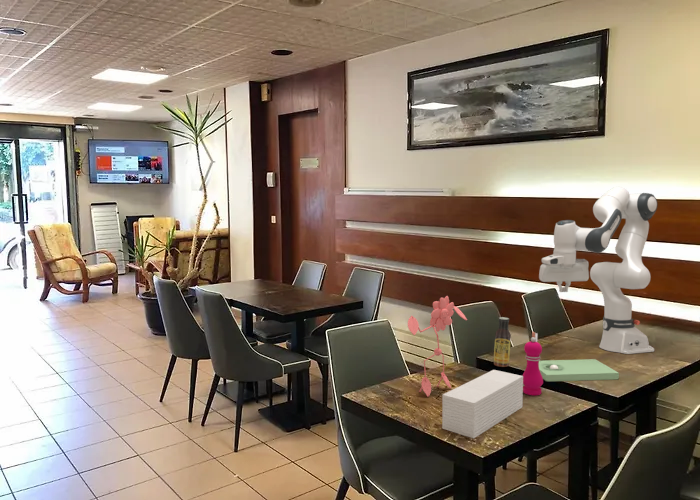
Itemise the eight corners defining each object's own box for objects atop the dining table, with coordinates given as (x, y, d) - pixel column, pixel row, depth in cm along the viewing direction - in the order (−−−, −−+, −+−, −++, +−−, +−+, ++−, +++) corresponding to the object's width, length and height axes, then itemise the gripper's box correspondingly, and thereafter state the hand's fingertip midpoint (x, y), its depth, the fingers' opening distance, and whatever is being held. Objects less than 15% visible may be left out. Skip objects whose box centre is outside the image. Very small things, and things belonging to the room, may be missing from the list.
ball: (553, 363, 223) (546, 366, 222) (558, 363, 219) (551, 366, 218) (556, 372, 222) (549, 375, 221) (562, 372, 219) (554, 374, 218)
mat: (593, 363, 232) (594, 329, 231) (618, 379, 213) (620, 341, 211) (526, 365, 230) (527, 331, 229) (546, 381, 211) (547, 343, 210)
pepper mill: (544, 396, 195) (545, 340, 193) (522, 395, 197) (523, 339, 195) (541, 389, 202) (542, 335, 200) (520, 388, 204) (521, 334, 202)
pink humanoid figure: (400, 396, 196) (402, 297, 192) (450, 381, 212) (453, 289, 208) (432, 410, 184) (435, 305, 180) (483, 393, 200) (486, 296, 196)
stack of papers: (493, 400, 193) (493, 369, 192) (522, 407, 186) (523, 376, 185) (442, 429, 169) (442, 394, 168) (473, 439, 162) (474, 403, 161)
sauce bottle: (492, 366, 229) (493, 319, 227) (494, 362, 235) (495, 315, 233) (509, 368, 227) (510, 320, 225) (510, 364, 233) (511, 317, 231)
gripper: (584, 257, 239) (583, 290, 240) (537, 258, 237) (537, 291, 239) (592, 259, 232) (591, 292, 234) (544, 260, 231) (543, 293, 232)
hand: (563, 291), depth 236 cm, fingers closed
